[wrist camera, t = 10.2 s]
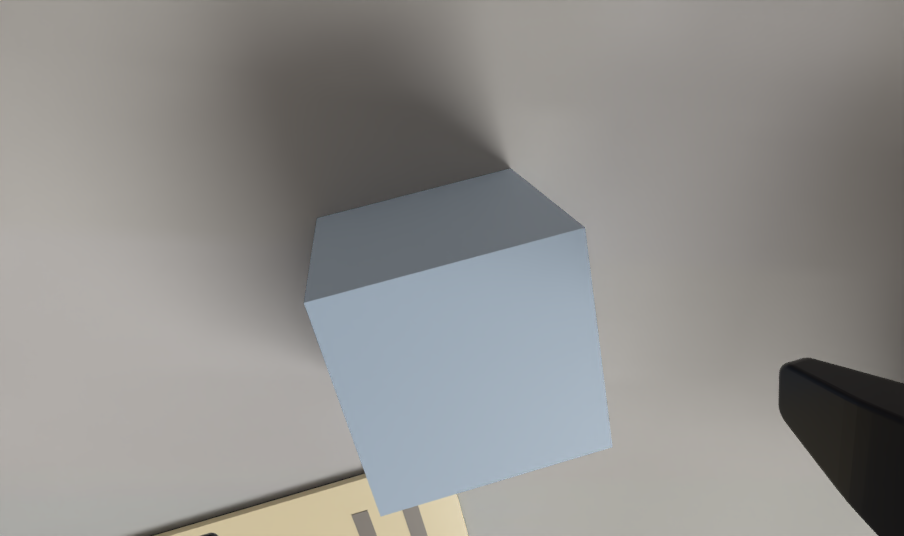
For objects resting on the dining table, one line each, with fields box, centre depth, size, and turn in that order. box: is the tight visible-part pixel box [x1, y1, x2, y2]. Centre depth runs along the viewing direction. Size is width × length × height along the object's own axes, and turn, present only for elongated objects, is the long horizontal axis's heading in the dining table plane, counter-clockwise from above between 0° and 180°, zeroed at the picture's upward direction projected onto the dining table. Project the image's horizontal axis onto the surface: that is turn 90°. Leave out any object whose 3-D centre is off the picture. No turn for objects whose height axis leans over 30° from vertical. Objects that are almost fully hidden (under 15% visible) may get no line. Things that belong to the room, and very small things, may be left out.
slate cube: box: [304, 168, 612, 516], centre depth 13 cm, size 5×5×5 cm
